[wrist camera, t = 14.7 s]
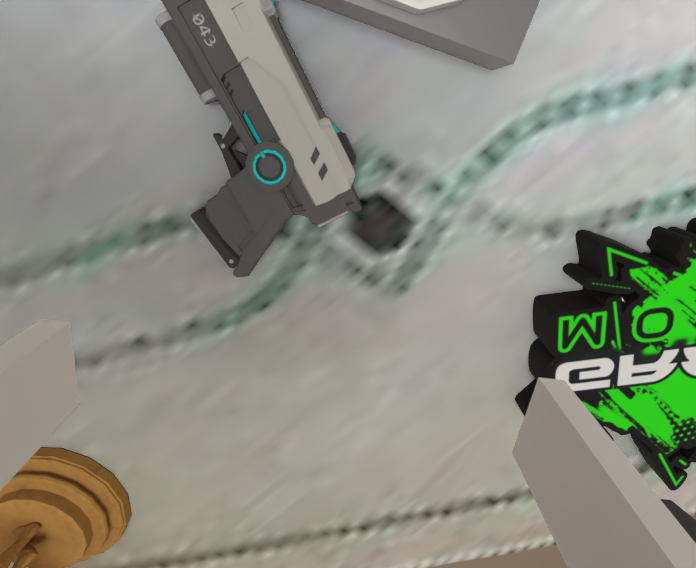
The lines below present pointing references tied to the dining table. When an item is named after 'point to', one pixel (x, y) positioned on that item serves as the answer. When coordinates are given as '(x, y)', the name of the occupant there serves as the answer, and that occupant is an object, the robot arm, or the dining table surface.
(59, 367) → the robot arm
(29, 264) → the dining table surface
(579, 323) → the sign
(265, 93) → the handgun
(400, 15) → the camera body
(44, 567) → the statue
